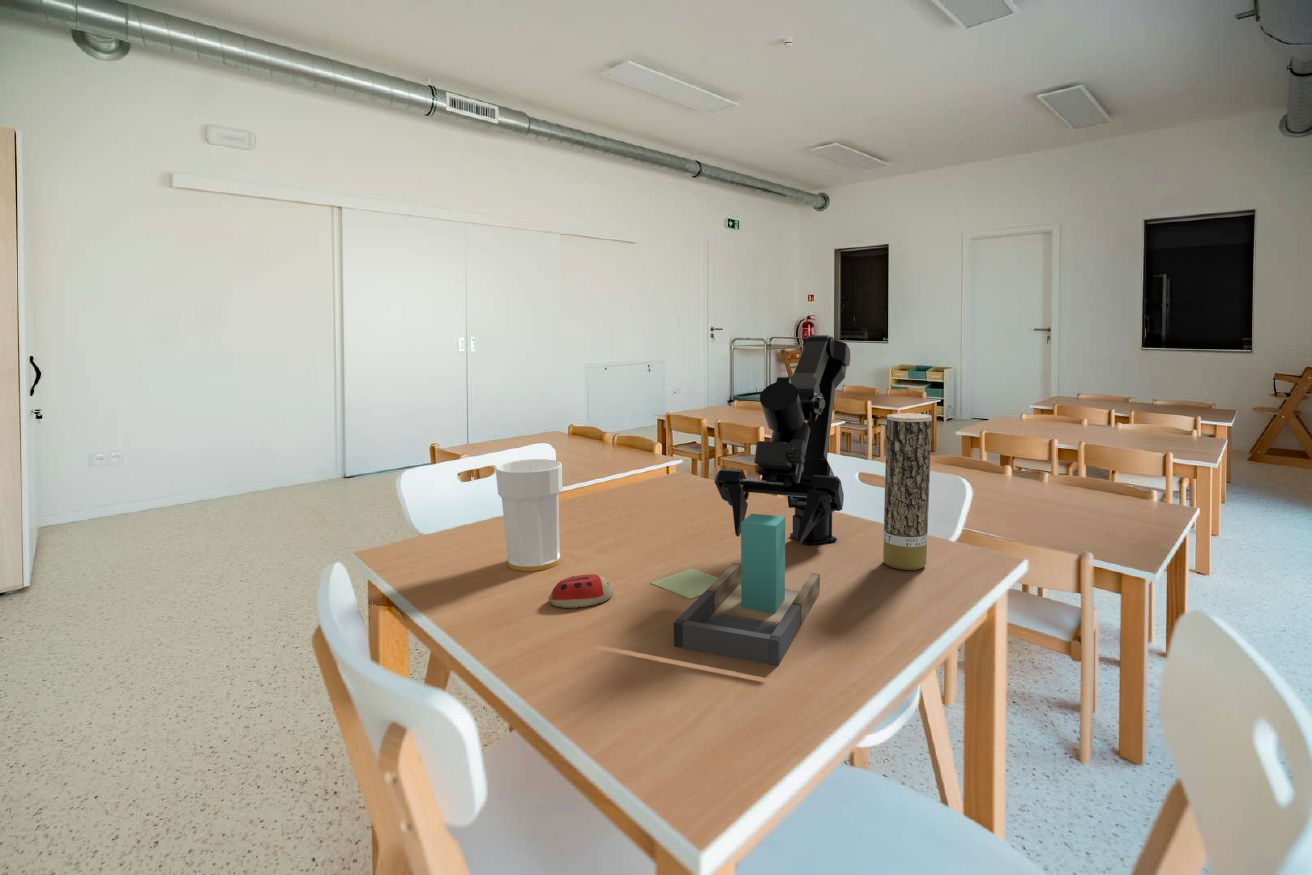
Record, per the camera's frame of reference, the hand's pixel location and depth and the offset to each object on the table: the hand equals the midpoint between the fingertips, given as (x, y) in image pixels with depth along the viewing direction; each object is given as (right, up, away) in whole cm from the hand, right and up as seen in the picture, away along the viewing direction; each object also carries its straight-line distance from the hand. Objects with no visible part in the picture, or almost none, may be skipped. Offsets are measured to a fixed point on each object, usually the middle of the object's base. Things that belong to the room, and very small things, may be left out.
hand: (767, 538), depth 98 cm
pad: (-11, -9, +8) cm, 16 cm away
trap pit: (-5, -11, -11) cm, 17 cm away
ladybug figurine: (-27, -10, +4) cm, 29 cm away
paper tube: (+25, -7, +15) cm, 30 cm away
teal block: (-1, -9, 0) cm, 9 cm away
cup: (-38, -7, +21) cm, 44 cm away
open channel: (0, -10, 0) cm, 10 cm away
